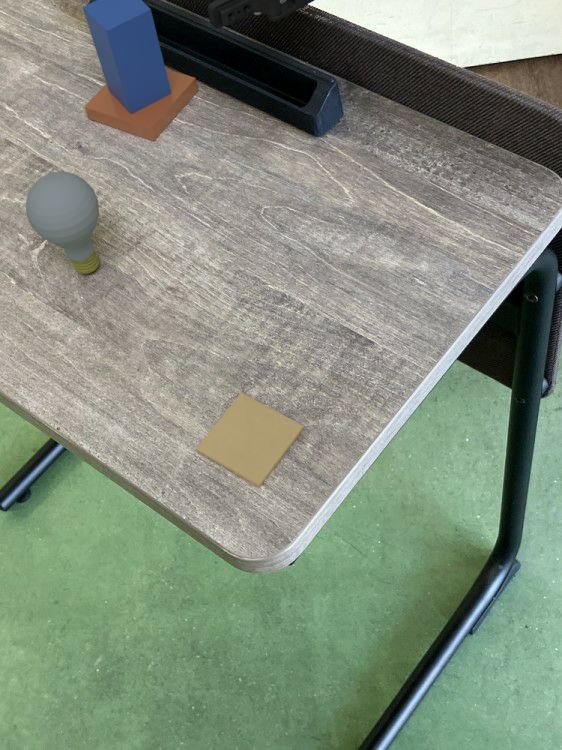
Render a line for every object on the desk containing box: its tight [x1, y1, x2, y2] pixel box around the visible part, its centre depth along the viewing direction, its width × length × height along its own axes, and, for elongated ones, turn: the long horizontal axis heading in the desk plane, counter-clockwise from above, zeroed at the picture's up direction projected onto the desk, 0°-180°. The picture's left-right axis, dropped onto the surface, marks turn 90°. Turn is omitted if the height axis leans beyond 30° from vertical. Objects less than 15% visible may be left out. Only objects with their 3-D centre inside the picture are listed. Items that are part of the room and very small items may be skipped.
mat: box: [195, 392, 305, 488], centre depth 68 cm, size 6×6×1 cm
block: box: [82, 0, 171, 114], centre depth 85 cm, size 4×4×9 cm
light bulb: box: [25, 171, 100, 275], centre depth 75 cm, size 5×6×10 cm
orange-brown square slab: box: [84, 68, 199, 142], centre depth 90 cm, size 8×8×2 cm
